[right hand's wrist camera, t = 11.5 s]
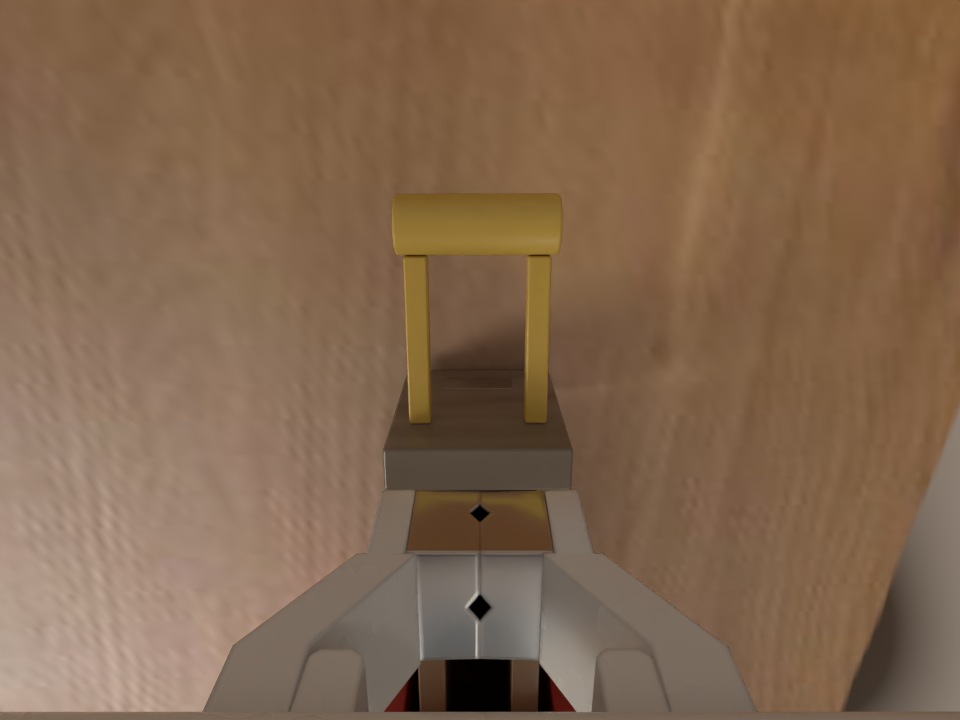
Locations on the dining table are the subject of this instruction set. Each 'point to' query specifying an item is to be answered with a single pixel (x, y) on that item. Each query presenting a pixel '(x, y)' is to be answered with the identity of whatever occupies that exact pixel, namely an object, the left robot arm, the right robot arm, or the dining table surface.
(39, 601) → the dining table surface
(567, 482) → the drawer
